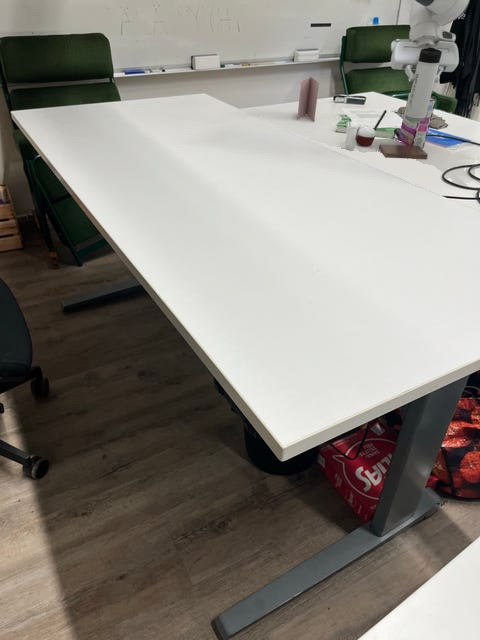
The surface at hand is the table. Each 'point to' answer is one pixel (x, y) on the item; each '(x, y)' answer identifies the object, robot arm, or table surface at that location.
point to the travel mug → (423, 84)
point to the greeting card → (308, 98)
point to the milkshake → (352, 135)
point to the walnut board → (402, 151)
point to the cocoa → (368, 133)
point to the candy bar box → (416, 127)
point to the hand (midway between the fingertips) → (424, 81)
